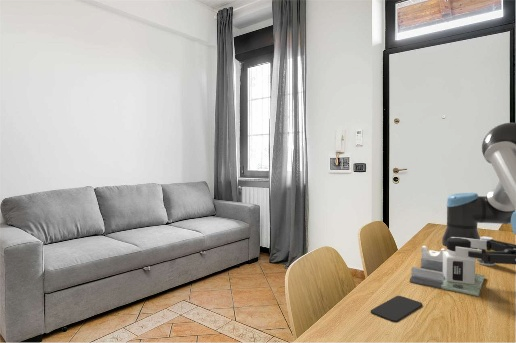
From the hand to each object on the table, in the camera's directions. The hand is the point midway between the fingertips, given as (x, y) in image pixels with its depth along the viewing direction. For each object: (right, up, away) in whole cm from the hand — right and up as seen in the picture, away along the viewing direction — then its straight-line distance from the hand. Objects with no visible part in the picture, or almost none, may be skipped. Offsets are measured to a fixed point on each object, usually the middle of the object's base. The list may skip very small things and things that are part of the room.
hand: (459, 246), depth 106 cm
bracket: (+3, -11, +19) cm, 22 cm away
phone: (-27, -13, -17) cm, 35 cm away
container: (0, -11, +1) cm, 11 cm away
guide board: (-2, -12, +3) cm, 12 cm away
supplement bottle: (+21, -11, +19) cm, 30 cm away
